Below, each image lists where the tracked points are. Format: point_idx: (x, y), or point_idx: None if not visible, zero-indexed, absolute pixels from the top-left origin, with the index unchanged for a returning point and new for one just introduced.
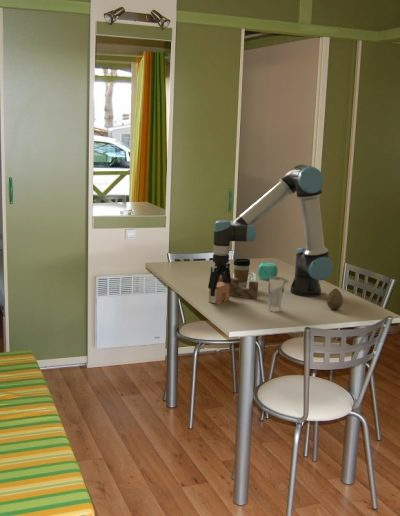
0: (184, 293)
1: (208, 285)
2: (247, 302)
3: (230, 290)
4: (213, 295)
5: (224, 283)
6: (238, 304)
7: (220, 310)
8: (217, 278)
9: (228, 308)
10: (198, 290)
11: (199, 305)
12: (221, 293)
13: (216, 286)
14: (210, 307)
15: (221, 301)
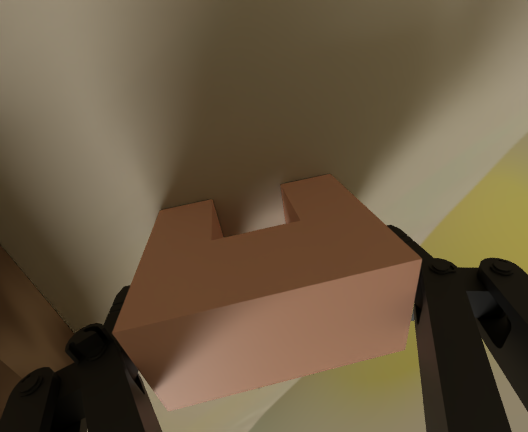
0: (275, 396)
1: (510, 327)
2: (39, 11)
3: (21, 324)
4: (395, 229)
5: (195, 348)
6: (201, 35)
7: (496, 20)
8: (505, 414)
9: (398, 7)
10: (174, 410)
11: (434, 224)
12: (311, 221)
13: (404, 295)
14: (445, 147)
15: (284, 187)
